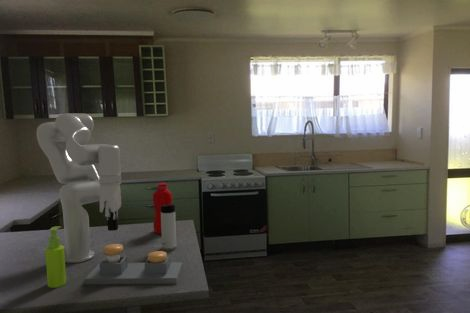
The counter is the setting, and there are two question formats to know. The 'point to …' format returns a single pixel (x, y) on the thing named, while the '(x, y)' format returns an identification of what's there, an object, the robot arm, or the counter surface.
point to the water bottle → (160, 204)
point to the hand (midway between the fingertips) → (113, 229)
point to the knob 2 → (157, 257)
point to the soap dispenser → (55, 261)
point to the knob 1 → (113, 252)
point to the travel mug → (168, 227)
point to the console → (135, 272)
